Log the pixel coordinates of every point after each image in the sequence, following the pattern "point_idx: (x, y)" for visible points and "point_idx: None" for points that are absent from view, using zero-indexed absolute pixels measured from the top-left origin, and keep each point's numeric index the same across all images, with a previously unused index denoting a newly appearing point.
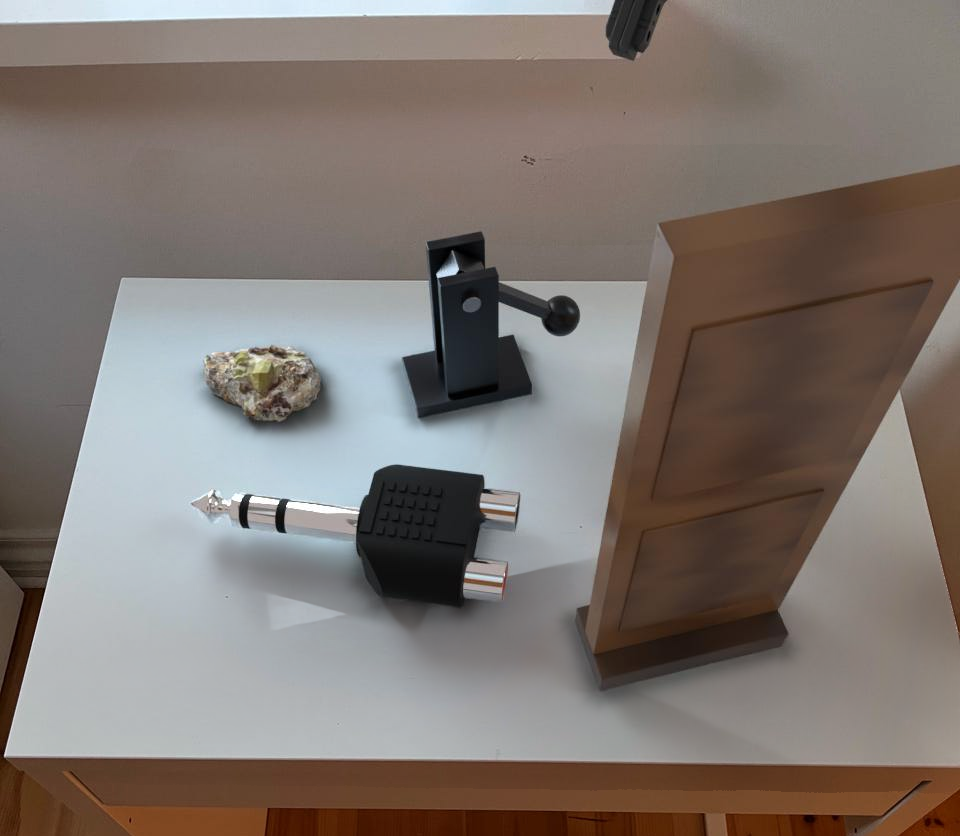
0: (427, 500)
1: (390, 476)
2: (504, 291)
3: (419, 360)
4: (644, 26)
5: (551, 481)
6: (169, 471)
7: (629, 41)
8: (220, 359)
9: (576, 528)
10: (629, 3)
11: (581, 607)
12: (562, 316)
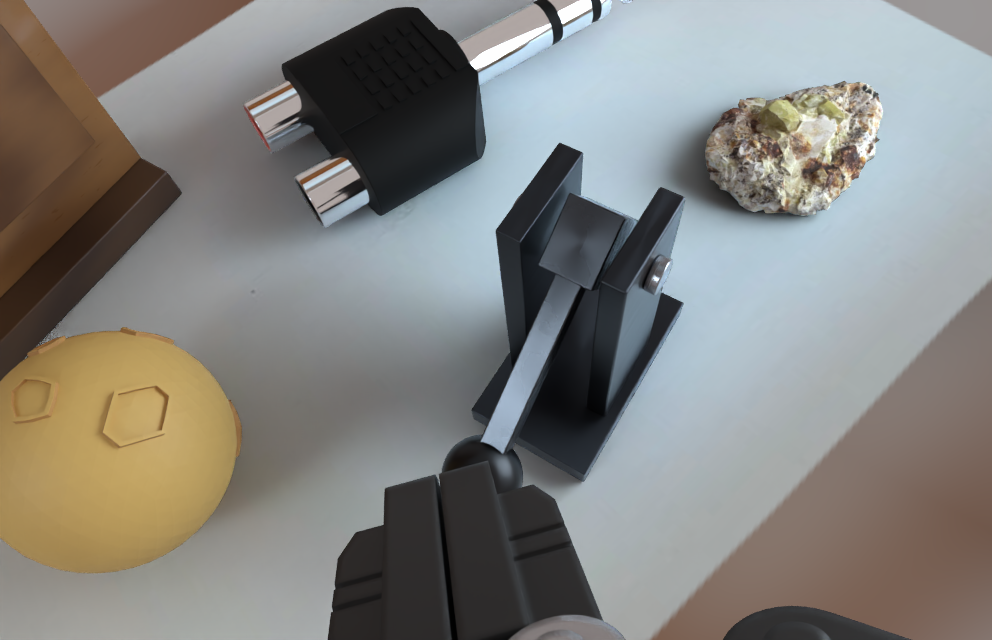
0: (387, 88)
1: (456, 81)
2: (534, 326)
3: (655, 317)
4: (355, 583)
5: (335, 318)
6: (739, 15)
7: (391, 496)
8: (859, 106)
9: (256, 286)
10: (471, 573)
11: (161, 174)
12: (458, 448)
